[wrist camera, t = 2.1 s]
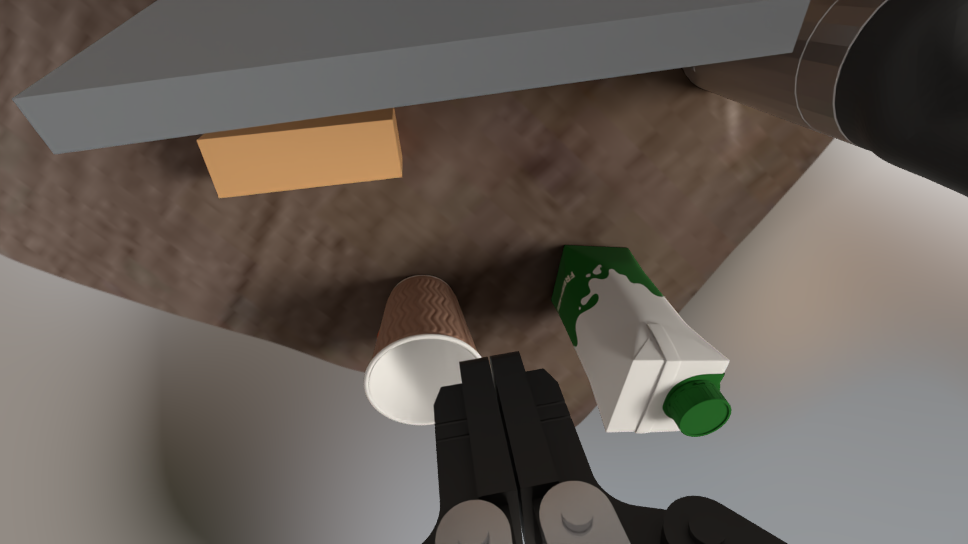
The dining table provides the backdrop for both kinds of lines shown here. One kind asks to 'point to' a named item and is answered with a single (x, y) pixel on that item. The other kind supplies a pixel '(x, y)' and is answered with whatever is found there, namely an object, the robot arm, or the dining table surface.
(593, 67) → the lid
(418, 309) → the coffee cup
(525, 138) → the dining table surface
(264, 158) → the light orange bar
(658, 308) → the milk carton
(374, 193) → the dining table surface
